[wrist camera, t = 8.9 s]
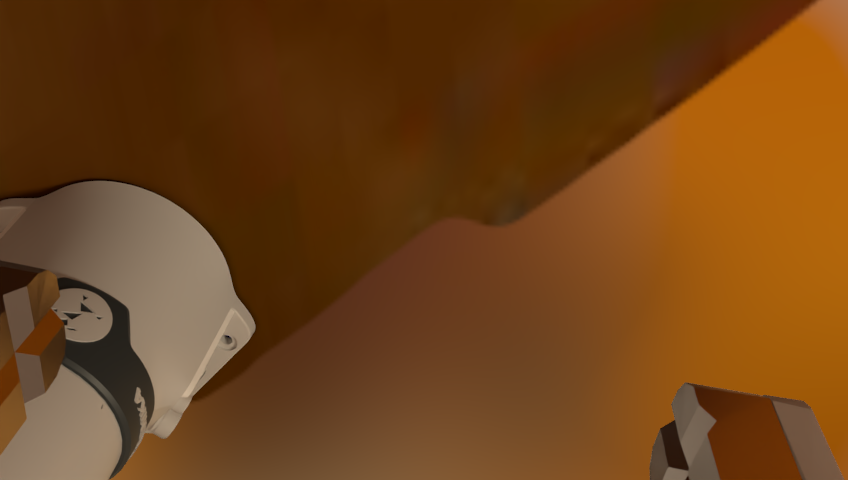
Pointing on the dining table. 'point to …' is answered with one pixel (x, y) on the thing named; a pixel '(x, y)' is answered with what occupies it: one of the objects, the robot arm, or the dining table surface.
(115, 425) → the robot arm
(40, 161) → the dining table surface
